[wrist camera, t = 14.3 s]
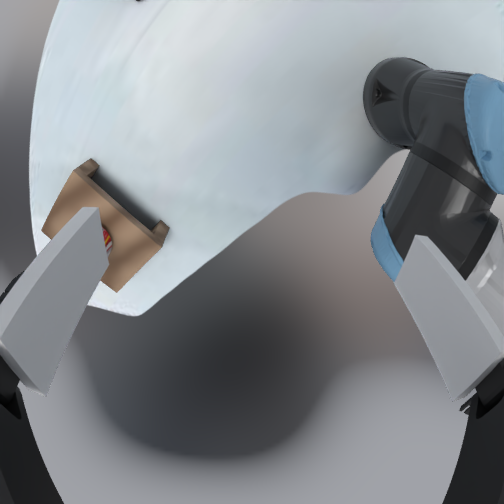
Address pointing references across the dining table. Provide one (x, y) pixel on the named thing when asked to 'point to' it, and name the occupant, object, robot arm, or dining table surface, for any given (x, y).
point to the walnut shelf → (107, 225)
